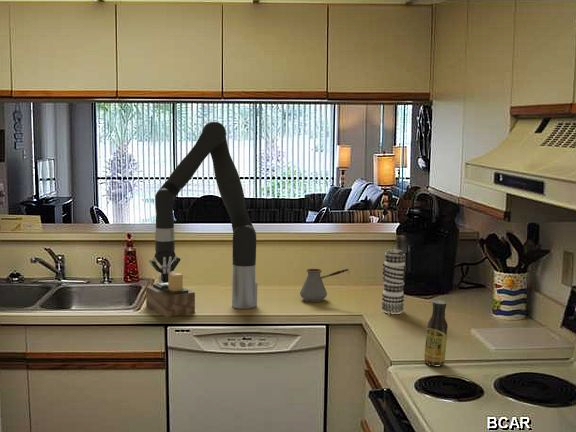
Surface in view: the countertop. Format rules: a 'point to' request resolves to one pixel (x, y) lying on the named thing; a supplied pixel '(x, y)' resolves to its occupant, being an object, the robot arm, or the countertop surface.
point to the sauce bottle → (436, 335)
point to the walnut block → (170, 300)
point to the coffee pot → (315, 285)
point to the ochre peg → (175, 282)
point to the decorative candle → (393, 281)
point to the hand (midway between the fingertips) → (165, 282)
